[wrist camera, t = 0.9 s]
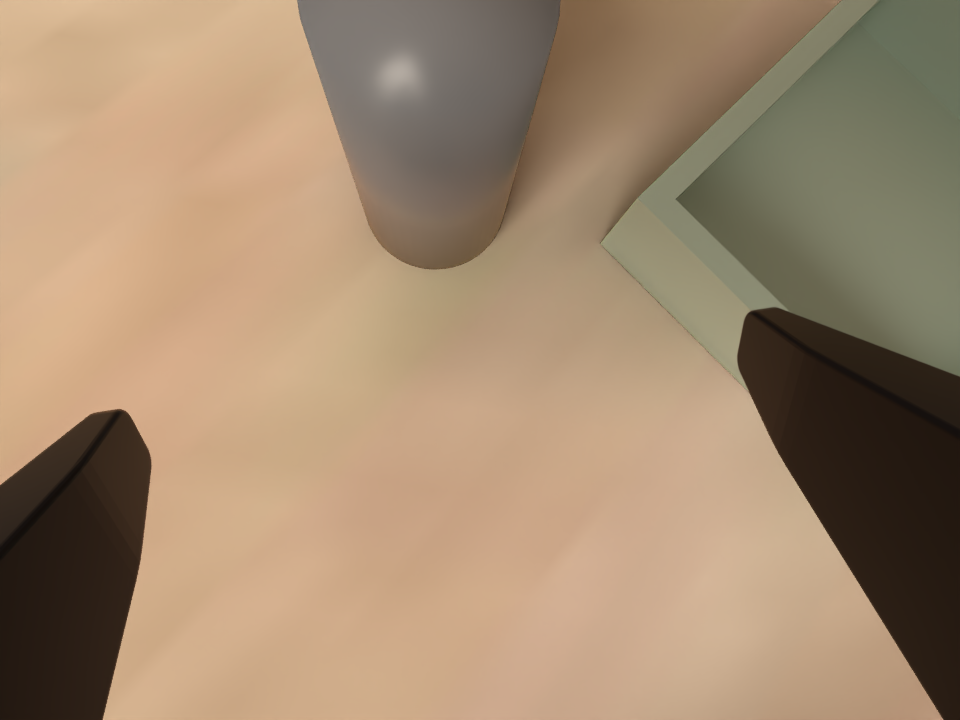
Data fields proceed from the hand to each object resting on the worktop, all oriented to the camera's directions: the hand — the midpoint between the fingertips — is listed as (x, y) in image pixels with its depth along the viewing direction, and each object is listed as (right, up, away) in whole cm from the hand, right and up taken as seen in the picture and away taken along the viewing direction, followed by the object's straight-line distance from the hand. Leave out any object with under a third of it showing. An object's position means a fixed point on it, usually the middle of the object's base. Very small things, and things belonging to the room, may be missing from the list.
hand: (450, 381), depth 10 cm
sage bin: (+14, +4, +15) cm, 21 cm away
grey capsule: (-1, +6, +14) cm, 15 cm away
